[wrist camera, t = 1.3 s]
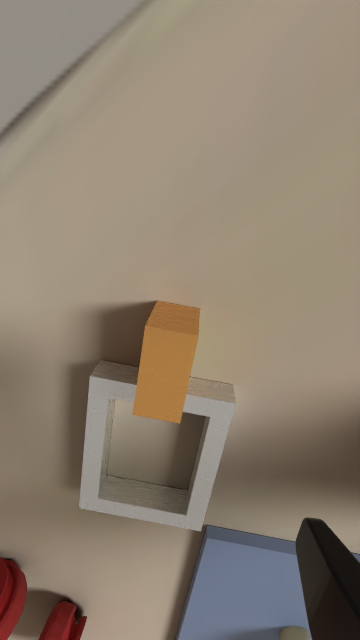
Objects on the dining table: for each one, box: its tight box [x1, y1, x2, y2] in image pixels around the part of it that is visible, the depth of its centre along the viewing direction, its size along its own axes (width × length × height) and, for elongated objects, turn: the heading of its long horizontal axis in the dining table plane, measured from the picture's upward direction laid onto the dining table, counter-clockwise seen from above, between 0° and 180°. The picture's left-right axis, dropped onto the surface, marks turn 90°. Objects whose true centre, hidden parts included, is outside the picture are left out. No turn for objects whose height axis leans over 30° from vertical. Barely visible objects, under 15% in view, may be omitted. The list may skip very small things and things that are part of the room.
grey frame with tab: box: [79, 301, 236, 531], centre depth 20 cm, size 15×8×4 cm, turn 170°
